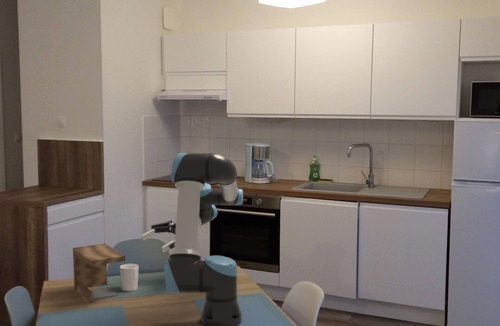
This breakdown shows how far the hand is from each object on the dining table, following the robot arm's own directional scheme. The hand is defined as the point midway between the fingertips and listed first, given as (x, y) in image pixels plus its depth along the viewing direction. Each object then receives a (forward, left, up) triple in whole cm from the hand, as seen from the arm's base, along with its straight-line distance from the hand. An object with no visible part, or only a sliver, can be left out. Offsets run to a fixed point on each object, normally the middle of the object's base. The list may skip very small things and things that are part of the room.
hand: (152, 243), depth 239 cm
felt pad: (-7, +21, -19) cm, 30 cm away
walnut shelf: (-6, +22, -19) cm, 30 cm away
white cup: (-1, +10, -20) cm, 22 cm away
